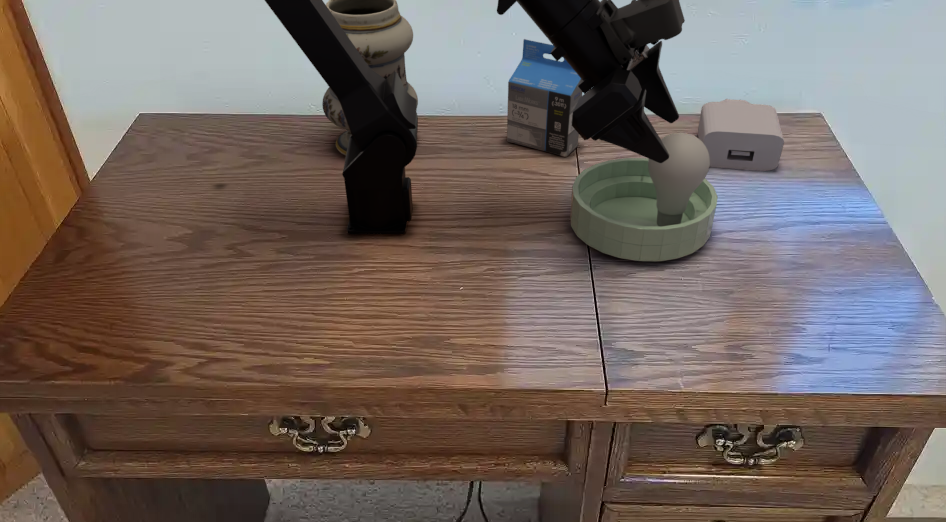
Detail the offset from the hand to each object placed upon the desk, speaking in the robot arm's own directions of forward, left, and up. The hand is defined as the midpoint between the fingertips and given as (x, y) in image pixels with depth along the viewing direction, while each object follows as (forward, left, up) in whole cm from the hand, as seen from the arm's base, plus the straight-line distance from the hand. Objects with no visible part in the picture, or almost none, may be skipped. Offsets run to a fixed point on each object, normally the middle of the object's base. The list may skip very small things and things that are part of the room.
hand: (670, 139), depth 80 cm
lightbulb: (+1, 0, -11) cm, 11 cm away
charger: (+13, +22, -11) cm, 28 cm away
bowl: (-2, +1, -11) cm, 11 cm away
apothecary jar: (-34, +21, -11) cm, 41 cm away
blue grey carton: (-12, +21, -11) cm, 27 cm away
